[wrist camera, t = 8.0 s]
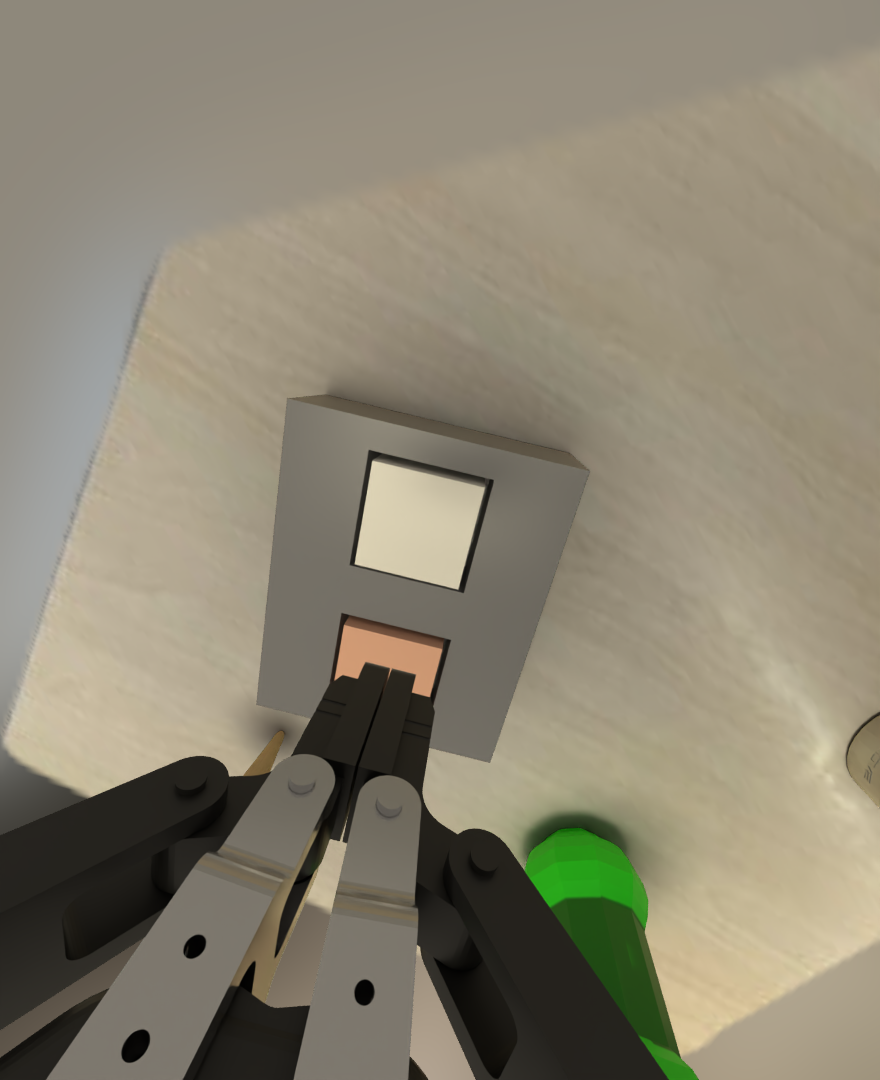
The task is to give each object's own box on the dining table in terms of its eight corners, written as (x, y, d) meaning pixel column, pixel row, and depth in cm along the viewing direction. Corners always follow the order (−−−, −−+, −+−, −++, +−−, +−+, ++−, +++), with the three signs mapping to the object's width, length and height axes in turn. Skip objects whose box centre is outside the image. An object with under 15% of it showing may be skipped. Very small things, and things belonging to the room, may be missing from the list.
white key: (484, 476, 26) (485, 487, 24) (460, 568, 28) (458, 589, 26) (384, 452, 26) (372, 460, 24) (367, 545, 29) (354, 564, 26)
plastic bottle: (659, 852, 39) (917, 1550, 16) (567, 905, 43) (668, 1550, 19) (579, 786, 38) (735, 1453, 14) (490, 846, 41) (497, 1472, 18)
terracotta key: (446, 623, 30) (442, 649, 27) (427, 696, 32) (421, 727, 29) (357, 601, 30) (343, 625, 27) (344, 676, 32) (330, 704, 29)
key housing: (569, 453, 29) (589, 471, 23) (489, 702, 36) (490, 762, 30) (325, 394, 29) (287, 398, 24) (291, 653, 36) (256, 704, 30)
